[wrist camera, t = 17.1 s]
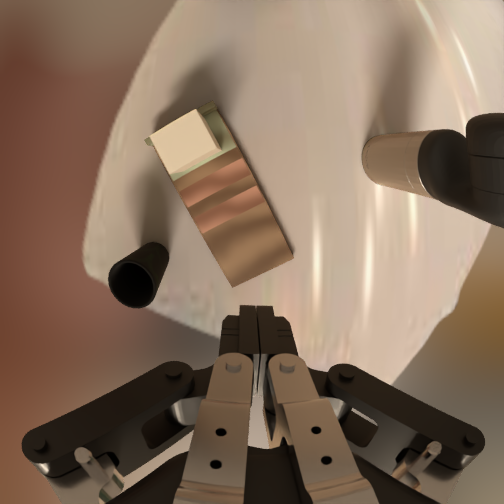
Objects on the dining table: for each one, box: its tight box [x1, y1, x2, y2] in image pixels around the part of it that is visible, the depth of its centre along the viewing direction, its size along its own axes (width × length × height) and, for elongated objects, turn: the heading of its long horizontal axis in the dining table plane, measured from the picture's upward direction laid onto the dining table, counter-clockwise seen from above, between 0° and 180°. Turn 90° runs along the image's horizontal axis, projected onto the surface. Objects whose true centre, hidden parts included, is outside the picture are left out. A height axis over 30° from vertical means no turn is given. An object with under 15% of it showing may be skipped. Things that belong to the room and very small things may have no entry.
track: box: [145, 101, 294, 288], centre depth 43 cm, size 29×12×4 cm, turn 27°
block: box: [149, 109, 222, 174], centre depth 37 cm, size 6×7×9 cm
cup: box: [108, 242, 169, 308], centre depth 43 cm, size 8×8×12 cm
